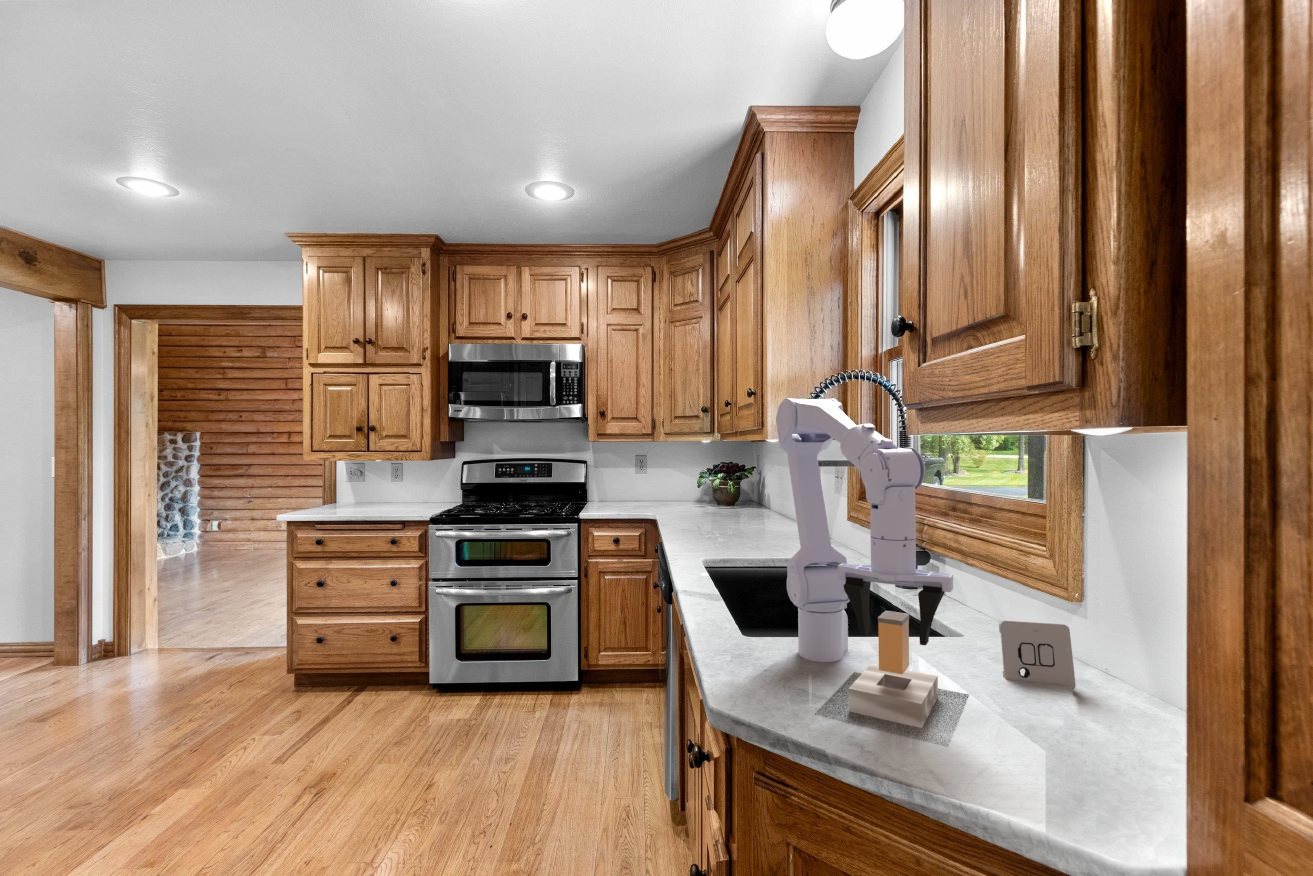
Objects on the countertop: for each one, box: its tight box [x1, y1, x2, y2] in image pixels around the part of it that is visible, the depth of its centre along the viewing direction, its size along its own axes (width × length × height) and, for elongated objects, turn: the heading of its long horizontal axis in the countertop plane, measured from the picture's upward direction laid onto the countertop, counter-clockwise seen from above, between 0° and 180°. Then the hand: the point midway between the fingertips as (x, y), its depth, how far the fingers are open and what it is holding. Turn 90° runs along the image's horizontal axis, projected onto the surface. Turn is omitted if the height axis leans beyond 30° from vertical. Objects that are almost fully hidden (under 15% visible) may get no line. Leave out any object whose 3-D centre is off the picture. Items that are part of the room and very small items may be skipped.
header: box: [815, 663, 970, 748], centre depth 84 cm, size 18×16×4 cm
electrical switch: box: [998, 620, 1077, 690], centre depth 95 cm, size 9×5×9 cm, turn 74°
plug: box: [877, 610, 910, 674], centre depth 85 cm, size 4×3×7 cm
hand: (893, 638), depth 85 cm, fingers open, 7 cm apart
